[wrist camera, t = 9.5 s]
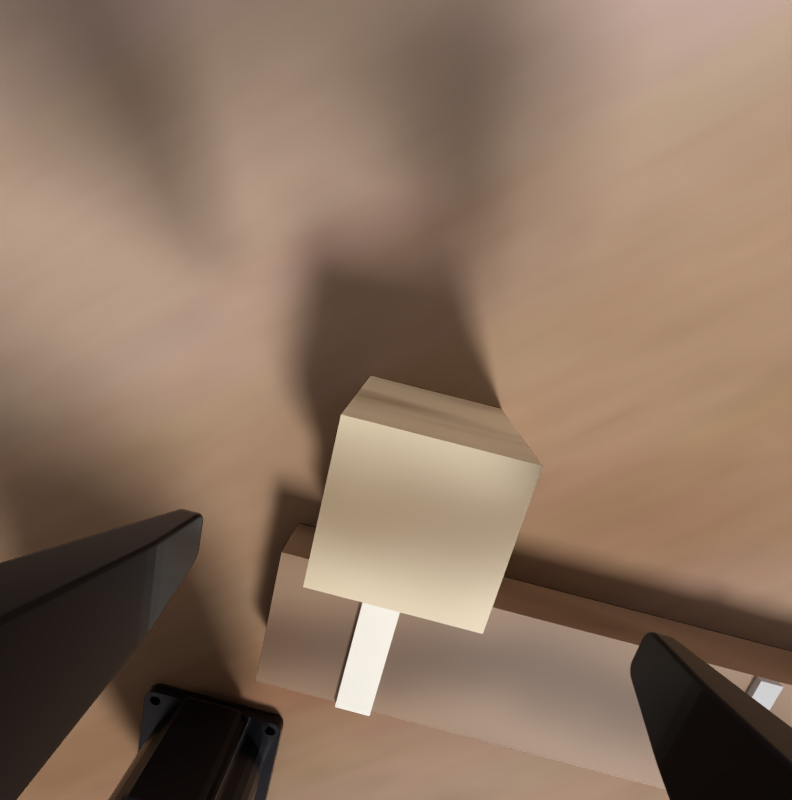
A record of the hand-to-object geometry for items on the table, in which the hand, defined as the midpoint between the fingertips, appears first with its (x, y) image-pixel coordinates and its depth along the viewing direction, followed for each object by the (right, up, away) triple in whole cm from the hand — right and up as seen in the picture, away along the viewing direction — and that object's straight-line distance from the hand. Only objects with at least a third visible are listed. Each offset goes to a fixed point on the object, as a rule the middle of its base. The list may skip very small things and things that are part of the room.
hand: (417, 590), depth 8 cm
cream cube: (0, +2, +8) cm, 8 cm away
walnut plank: (+8, -8, +9) cm, 15 cm away
